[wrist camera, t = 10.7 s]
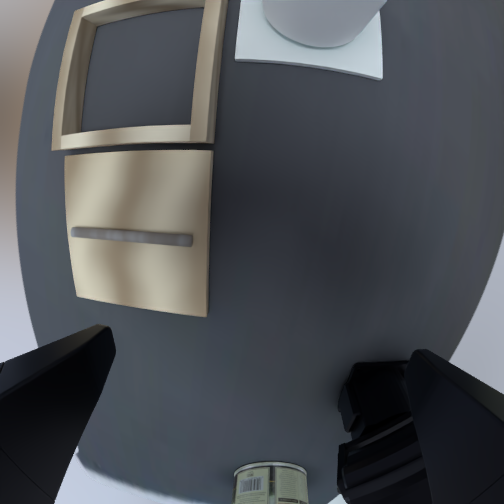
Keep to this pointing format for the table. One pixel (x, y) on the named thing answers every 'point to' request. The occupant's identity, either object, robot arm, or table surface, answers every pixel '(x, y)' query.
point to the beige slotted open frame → (140, 178)
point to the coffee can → (270, 484)
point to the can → (321, 19)
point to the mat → (306, 46)
